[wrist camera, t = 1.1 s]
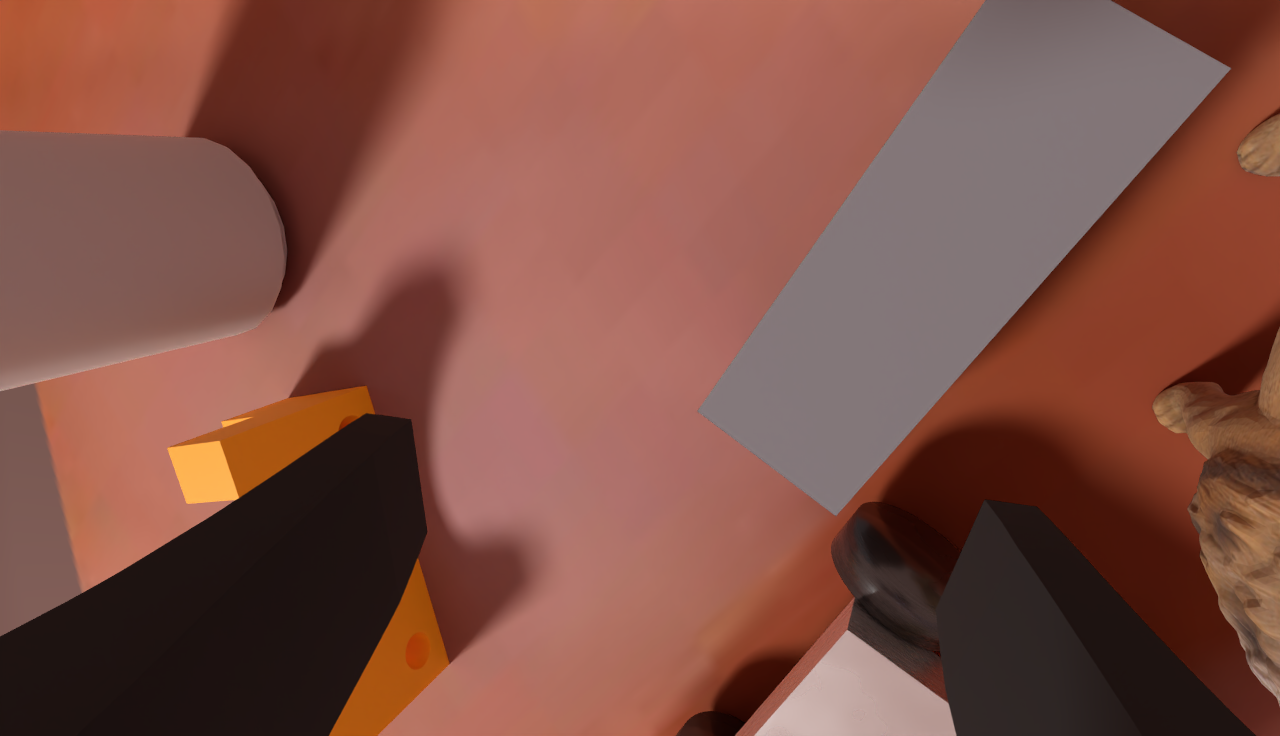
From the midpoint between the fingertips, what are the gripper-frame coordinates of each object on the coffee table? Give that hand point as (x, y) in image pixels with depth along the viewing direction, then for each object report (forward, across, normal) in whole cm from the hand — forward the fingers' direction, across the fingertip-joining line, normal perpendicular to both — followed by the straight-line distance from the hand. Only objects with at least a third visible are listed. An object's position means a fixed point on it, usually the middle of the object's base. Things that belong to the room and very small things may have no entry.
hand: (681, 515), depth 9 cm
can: (+18, +19, +6) cm, 27 cm away
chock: (+12, -6, +1) cm, 13 cm away
